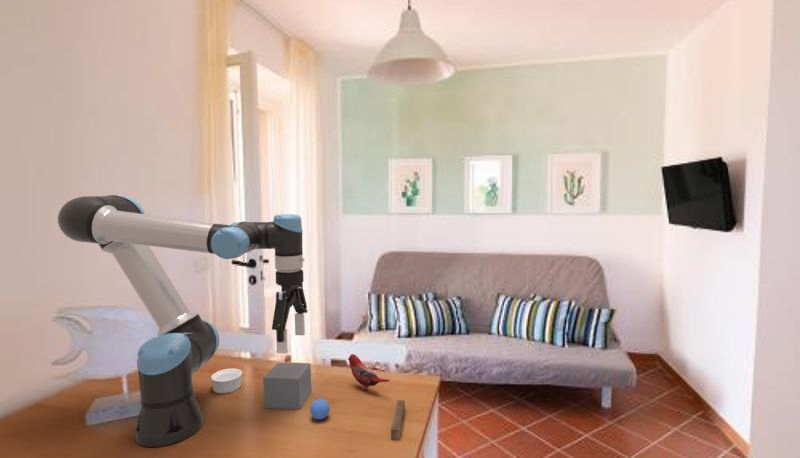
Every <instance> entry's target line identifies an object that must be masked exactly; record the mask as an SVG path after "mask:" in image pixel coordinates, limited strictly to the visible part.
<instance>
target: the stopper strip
mask: <svg viewBox="0 0 800 458" xmlns="http://www.w3.org/2000/svg"><path fill="white" fill-rule="evenodd" d="M405 403H406V402H405V400H404V399H402V400H398V399H397V400H396V405H395V410H394V414H393V418H392V419H393V420H392V423H391V428H390V439H391V440H394V441H395V440H397V441H398V440H400V437H401V434H402V433H401V432H402V427H403V420H404V415H405V409H406V408H405V407H406V405H405Z"/></svg>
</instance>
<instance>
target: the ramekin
mask: <svg viewBox="0 0 800 458" xmlns="http://www.w3.org/2000/svg"><path fill="white" fill-rule="evenodd" d="M242 376H243V371H242V370H241V369H239V368H226V369H221V370H218V371H216V372H214V373H213V374H212V375H211V376H210V378H211V379H210V380H211V384H212V390H213V391H214V392H215V393H217V394H229V393H233V392H235V391H237V390H238V389H239V388H240V387H242Z"/></svg>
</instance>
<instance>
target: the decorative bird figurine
mask: <svg viewBox="0 0 800 458" xmlns="http://www.w3.org/2000/svg"><path fill="white" fill-rule="evenodd" d="M347 360H348V364H349V366H350V370H351V374H352V376H353V378H354V379H355V381H356V382H358V383H359V384H360V385H361V386H360V385H358V387H359V388H360V389H361V390H365V391H367V392H368V391H369V392H370V389H368V388H369V387H374V386H376V385H377V384H379V383H385V382H387V383H388V382H390V381H391V380H390V379H387V378H381V377H378V376H377V374H376V373H375V372H374V371H372V369H370V368H369V367H367V366H366V365H365V364H364V363H363V362H362V361H361V359H360V358H359V357H358V356H357V355H356V354H354V353H351V354H350V355H349V357H348V358H347Z"/></svg>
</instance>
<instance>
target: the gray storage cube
mask: <svg viewBox="0 0 800 458" xmlns="http://www.w3.org/2000/svg"><path fill="white" fill-rule="evenodd" d="M311 372H312V367H311V363H309V362H277V363H276V364H275V365H273V366H272V367H271V369H270V370H269V371H268V372H267V373H266V374H265V375H264V376H263V377H262V379H263V380H262V382H263V397H264V398H263V399H264V401H263V402H264V409H278V410H279V409H281V410H301V409H302V407H303V406H304V404H305V402H306V401H307V400H308V398H309V396H310V395H311V393H312V392H313V391H312V388H313V387H312V373H311Z"/></svg>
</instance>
